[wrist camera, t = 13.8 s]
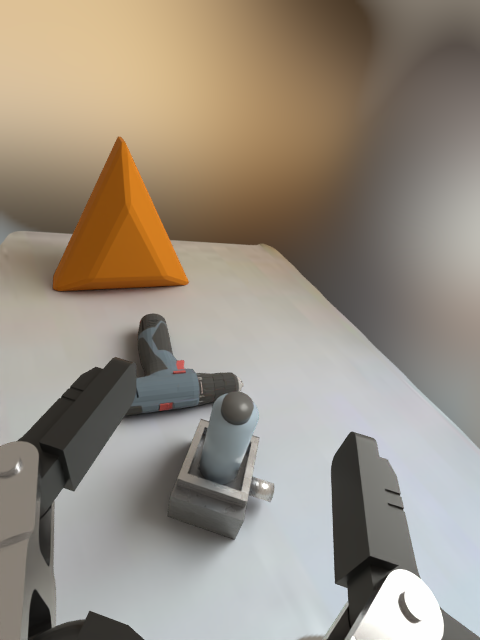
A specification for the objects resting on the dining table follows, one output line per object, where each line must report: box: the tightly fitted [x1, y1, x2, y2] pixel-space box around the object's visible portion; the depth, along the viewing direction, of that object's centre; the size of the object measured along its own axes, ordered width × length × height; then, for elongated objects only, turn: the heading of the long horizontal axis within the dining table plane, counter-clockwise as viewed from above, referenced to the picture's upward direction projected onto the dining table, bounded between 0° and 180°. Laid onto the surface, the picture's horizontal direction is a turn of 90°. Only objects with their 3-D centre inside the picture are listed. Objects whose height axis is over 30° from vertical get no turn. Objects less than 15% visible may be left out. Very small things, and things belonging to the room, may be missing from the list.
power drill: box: [125, 314, 243, 415], centre depth 52 cm, size 5×19×20 cm
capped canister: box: [200, 391, 259, 485], centre depth 32 cm, size 5×5×11 cm
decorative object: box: [53, 137, 189, 291], centre depth 64 cm, size 30×15×30 cm, turn 115°
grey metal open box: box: [168, 419, 274, 539], centre depth 36 cm, size 11×10×6 cm
